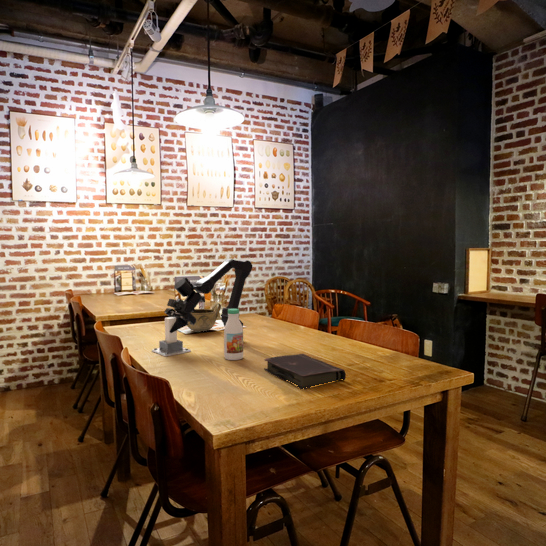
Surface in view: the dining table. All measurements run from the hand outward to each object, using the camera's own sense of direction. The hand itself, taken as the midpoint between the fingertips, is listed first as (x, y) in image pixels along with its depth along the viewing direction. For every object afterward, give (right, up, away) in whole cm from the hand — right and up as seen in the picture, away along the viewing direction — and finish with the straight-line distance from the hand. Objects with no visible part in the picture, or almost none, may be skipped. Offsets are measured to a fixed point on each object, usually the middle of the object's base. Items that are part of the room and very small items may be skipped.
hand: (168, 331), depth 183 cm
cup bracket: (+1, -9, +1) cm, 9 cm away
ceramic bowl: (+6, -6, +45) cm, 46 cm away
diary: (+55, -12, -32) cm, 65 cm away
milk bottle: (+29, -10, -9) cm, 32 cm away
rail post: (+1, -7, +1) cm, 7 cm away
